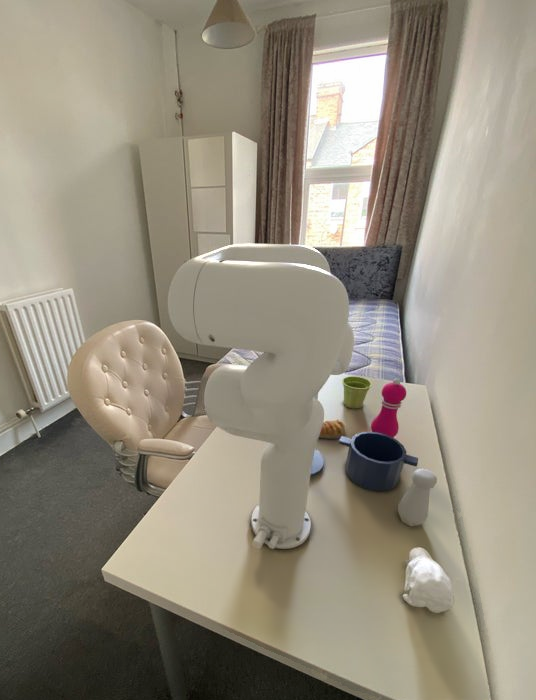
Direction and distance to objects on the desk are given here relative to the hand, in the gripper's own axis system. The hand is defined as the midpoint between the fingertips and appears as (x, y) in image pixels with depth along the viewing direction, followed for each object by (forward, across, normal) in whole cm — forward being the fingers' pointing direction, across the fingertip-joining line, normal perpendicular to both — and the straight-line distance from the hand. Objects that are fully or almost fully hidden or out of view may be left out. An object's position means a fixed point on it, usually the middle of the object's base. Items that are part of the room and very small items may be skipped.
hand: (299, 441), depth 84 cm
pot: (+8, -6, +18) cm, 20 cm away
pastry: (+7, -18, +4) cm, 20 cm away
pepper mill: (+7, -22, +18) cm, 29 cm away
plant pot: (+6, -40, +6) cm, 40 cm away
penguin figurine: (+9, +20, +31) cm, 38 cm away
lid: (+7, -2, 0) cm, 7 cm away
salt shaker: (+8, +4, +28) cm, 29 cm away
